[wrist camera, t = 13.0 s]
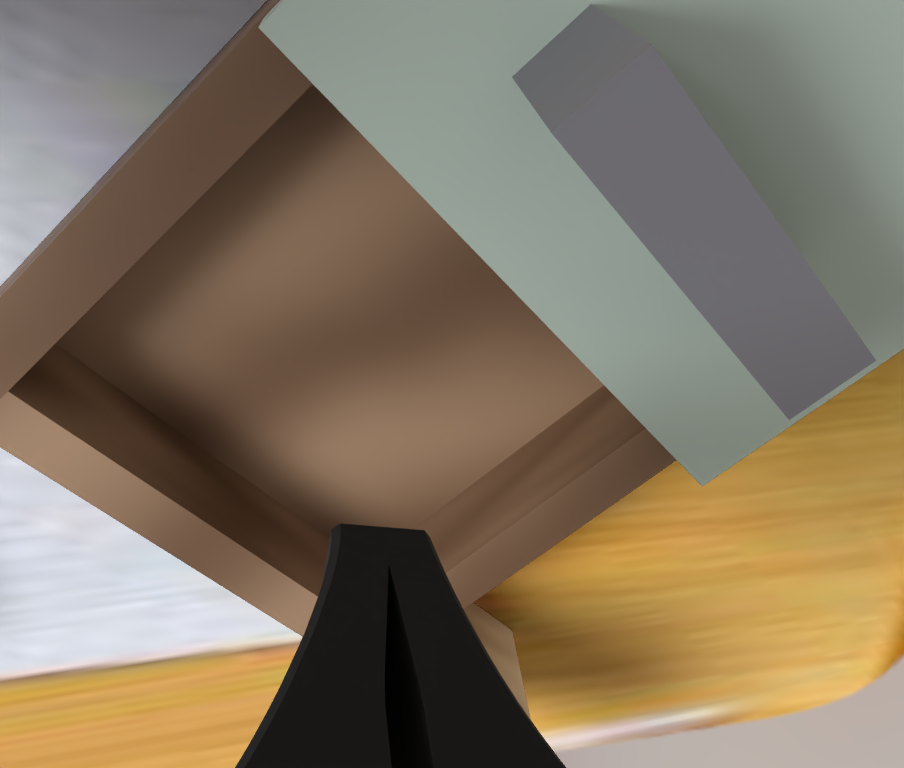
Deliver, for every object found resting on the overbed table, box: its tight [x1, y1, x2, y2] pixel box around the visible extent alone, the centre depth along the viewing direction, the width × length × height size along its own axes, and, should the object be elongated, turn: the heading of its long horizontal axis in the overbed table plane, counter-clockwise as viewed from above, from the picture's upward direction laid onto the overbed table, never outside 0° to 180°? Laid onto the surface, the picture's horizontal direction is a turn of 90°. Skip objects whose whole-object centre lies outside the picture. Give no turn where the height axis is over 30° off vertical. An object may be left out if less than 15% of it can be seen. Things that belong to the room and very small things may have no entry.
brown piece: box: [0, 0, 676, 637], centre depth 18 cm, size 12×16×3 cm
